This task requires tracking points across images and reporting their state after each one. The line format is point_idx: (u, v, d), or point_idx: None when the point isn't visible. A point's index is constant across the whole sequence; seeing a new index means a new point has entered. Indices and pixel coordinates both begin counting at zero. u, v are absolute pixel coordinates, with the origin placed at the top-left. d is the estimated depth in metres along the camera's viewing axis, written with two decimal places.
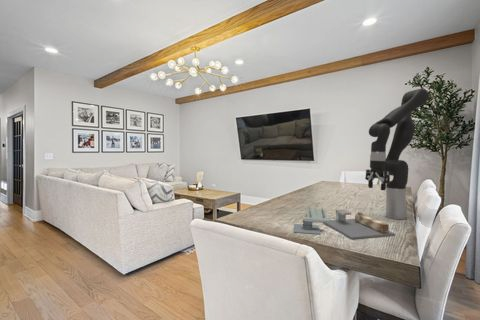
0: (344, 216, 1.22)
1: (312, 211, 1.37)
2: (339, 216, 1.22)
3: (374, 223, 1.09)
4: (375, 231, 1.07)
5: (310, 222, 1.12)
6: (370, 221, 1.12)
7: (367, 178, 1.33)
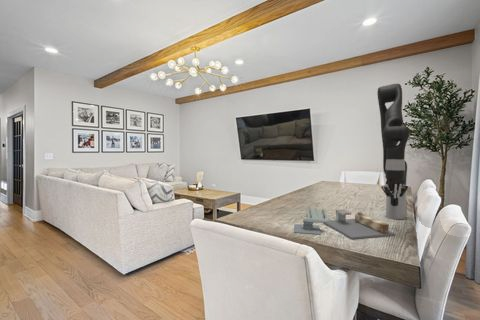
0: (344, 216, 1.22)
1: (312, 211, 1.36)
2: (339, 216, 1.22)
3: (374, 223, 1.09)
4: (375, 231, 1.07)
5: (310, 222, 1.11)
6: (370, 221, 1.12)
7: (391, 194, 1.06)
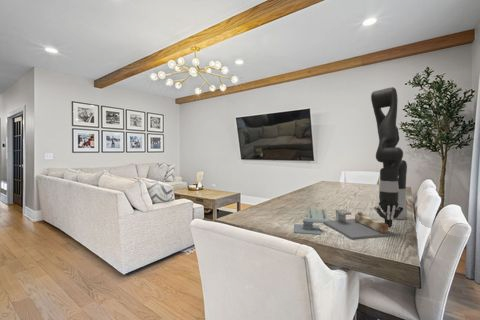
0: (344, 216, 1.22)
1: (313, 212, 1.36)
2: (339, 216, 1.22)
3: (374, 223, 1.09)
4: (375, 231, 1.07)
5: (310, 222, 1.11)
6: (370, 221, 1.12)
7: (384, 215, 1.06)
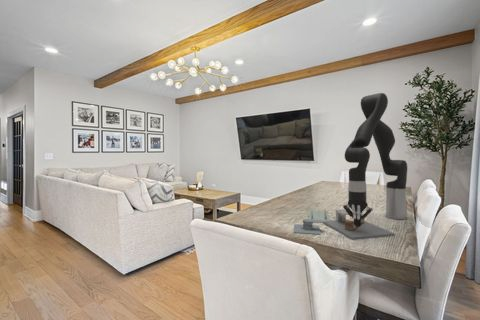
0: (344, 216, 1.22)
1: (314, 212, 1.34)
2: (339, 216, 1.22)
3: None
4: (375, 231, 1.07)
5: (310, 222, 1.11)
6: None
7: (351, 214, 1.09)
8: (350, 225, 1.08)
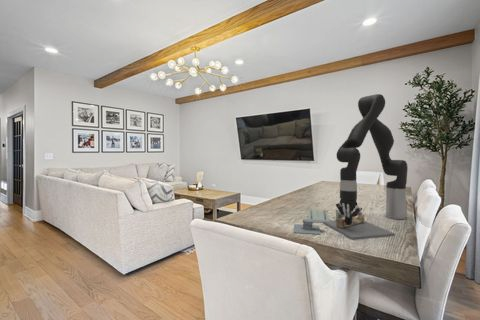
0: None
1: (314, 212, 1.34)
2: (339, 216, 1.22)
3: None
4: (375, 231, 1.07)
5: (310, 222, 1.11)
6: None
7: (343, 212, 1.12)
8: (340, 223, 1.12)
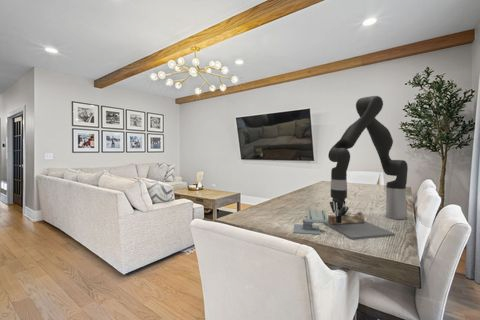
0: None
1: (312, 213, 1.34)
2: None
3: None
4: (375, 231, 1.07)
5: (310, 222, 1.11)
6: None
7: (334, 210, 1.16)
8: (330, 219, 1.18)
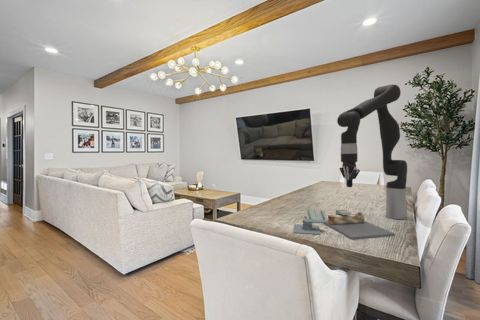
0: None
1: (311, 213, 1.33)
2: None
3: None
4: (375, 231, 1.07)
5: (310, 222, 1.11)
6: None
7: (344, 175, 1.17)
8: (330, 219, 1.18)
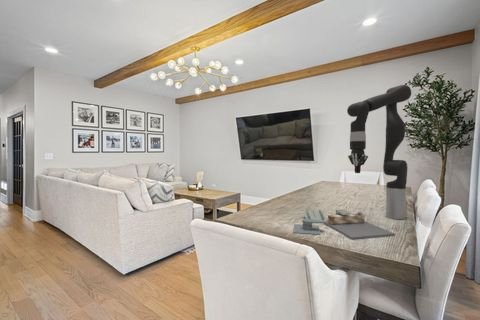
0: None
1: (310, 213, 1.33)
2: None
3: None
4: (375, 231, 1.07)
5: (310, 222, 1.11)
6: None
7: (353, 162, 1.24)
8: (330, 219, 1.18)
